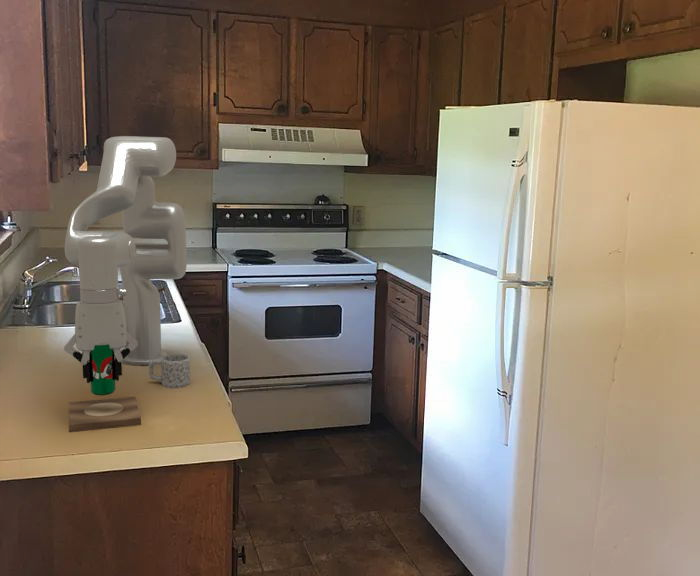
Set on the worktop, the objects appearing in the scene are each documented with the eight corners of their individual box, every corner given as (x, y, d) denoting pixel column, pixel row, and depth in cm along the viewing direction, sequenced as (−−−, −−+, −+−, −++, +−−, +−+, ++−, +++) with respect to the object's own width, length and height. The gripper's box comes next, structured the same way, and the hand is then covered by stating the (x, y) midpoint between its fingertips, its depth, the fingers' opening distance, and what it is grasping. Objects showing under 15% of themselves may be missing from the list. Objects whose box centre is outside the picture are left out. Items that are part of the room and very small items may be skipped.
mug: (193, 380, 185) (192, 354, 183) (185, 388, 178) (185, 362, 177) (153, 378, 185) (153, 352, 184) (144, 387, 179) (143, 360, 177)
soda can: (118, 388, 160) (116, 334, 158) (111, 396, 155) (109, 340, 153) (94, 388, 160) (92, 334, 158) (87, 396, 155) (85, 340, 153)
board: (69, 408, 163) (68, 401, 162) (135, 402, 167) (135, 395, 167) (69, 432, 150) (69, 424, 149) (141, 424, 155) (140, 416, 154)
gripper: (140, 290, 160) (142, 371, 163) (55, 294, 154) (59, 378, 157) (143, 297, 153) (146, 381, 157) (55, 301, 147) (59, 389, 151)
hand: (102, 379), depth 157 cm, fingers closed on soda can, 5 cm apart
